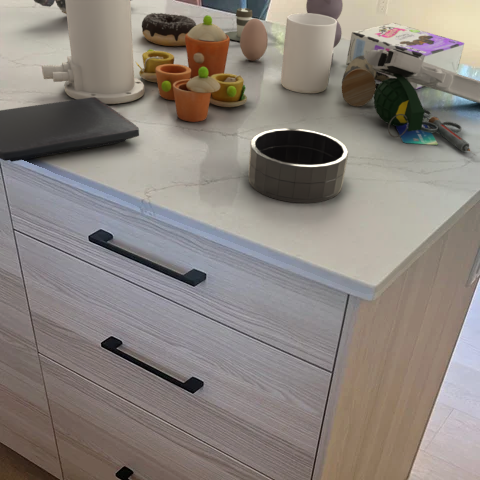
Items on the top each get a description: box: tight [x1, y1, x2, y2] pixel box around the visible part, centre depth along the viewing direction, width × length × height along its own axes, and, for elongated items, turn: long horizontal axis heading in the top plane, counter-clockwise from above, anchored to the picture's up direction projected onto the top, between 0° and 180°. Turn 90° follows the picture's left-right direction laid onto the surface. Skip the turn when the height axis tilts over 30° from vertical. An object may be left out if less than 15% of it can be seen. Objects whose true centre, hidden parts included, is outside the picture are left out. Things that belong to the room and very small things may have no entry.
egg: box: [239, 18, 269, 62], centre depth 117 cm, size 5×5×7 cm
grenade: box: [373, 74, 425, 138], centre depth 97 cm, size 6×7×12 cm
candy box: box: [345, 22, 465, 90], centre depth 119 cm, size 14×6×16 cm
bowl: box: [247, 128, 349, 204], centre depth 80 cm, size 12×12×4 cm
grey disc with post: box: [224, 7, 253, 42], centre depth 130 cm, size 12×12×5 cm
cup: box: [280, 12, 338, 94], centre depth 108 cm, size 8×12×10 cm
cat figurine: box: [305, 0, 344, 64], centre depth 118 cm, size 8×8×12 cm
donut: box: [141, 12, 197, 47], centre depth 125 cm, size 11×12×4 cm
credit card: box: [395, 123, 439, 146], centre depth 97 cm, size 8×5×1 cm, turn 0°
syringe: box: [421, 108, 476, 156], centre depth 97 cm, size 8×18×2 cm, turn 18°
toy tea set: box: [135, 14, 248, 123], centre depth 100 cm, size 26×16×10 cm, turn 20°
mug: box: [341, 56, 390, 107], centre depth 107 cm, size 8×6×12 cm
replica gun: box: [364, 49, 480, 104], centre depth 103 cm, size 29×16×3 cm, turn 97°
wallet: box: [0, 97, 140, 163], centre depth 87 cm, size 20×2×15 cm
